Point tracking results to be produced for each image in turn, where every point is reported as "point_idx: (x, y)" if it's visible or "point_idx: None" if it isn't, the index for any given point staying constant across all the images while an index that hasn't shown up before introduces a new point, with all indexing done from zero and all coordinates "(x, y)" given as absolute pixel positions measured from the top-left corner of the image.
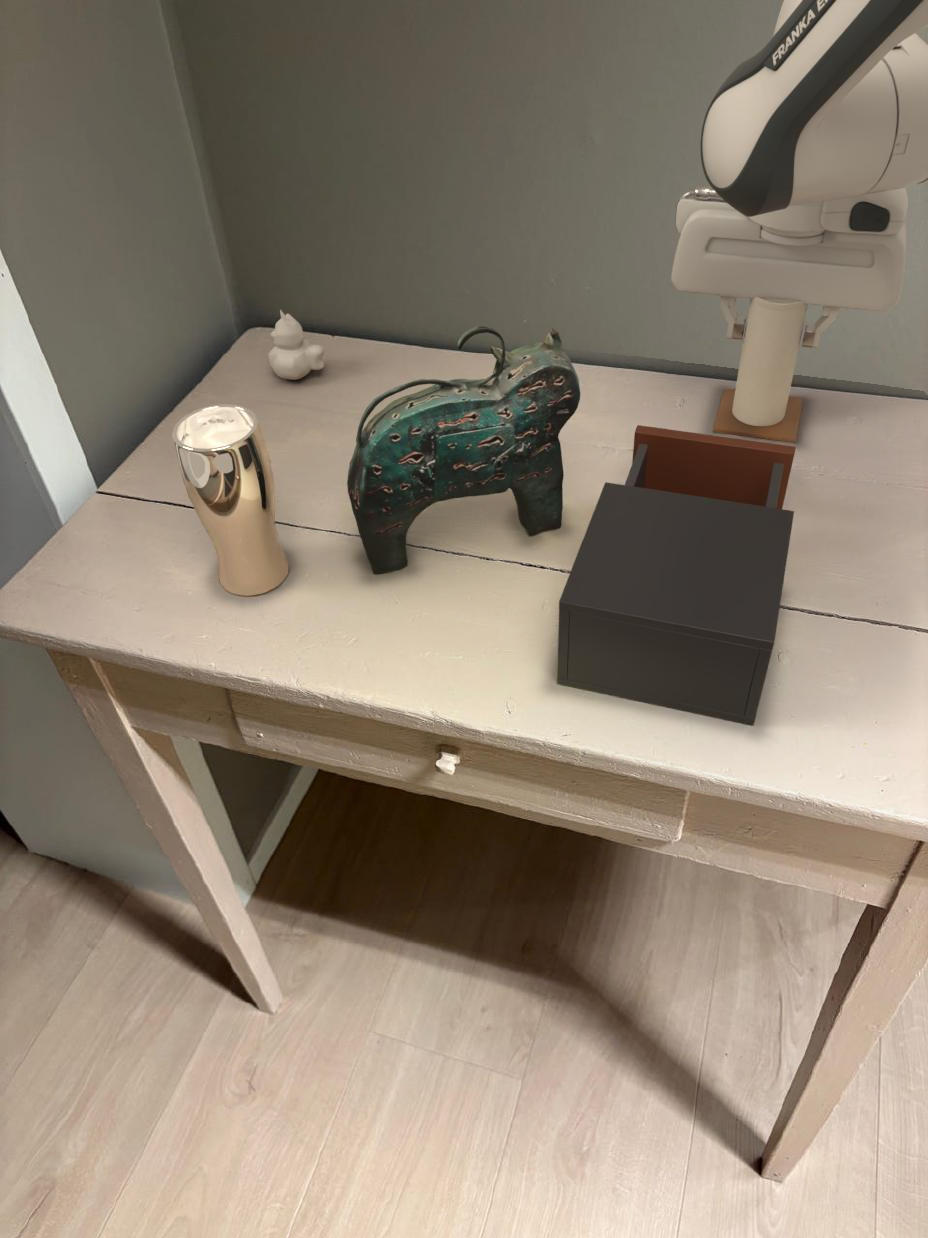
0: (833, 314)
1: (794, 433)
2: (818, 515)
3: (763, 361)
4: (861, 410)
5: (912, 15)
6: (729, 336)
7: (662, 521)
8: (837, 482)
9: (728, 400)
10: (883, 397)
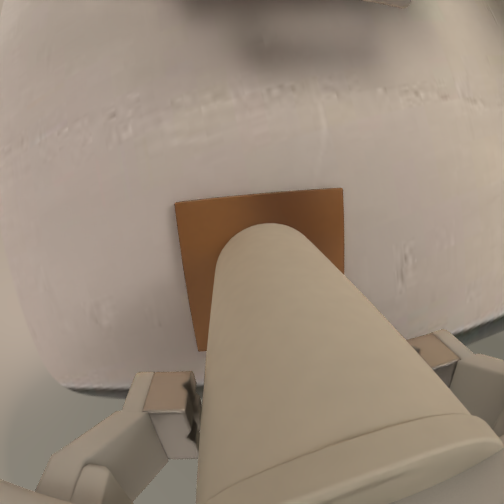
0: (63, 467)
1: (182, 224)
2: (109, 10)
3: (308, 273)
4: (102, 346)
5: None
6: (440, 330)
7: None
8: (85, 106)
9: None
10: (90, 385)
